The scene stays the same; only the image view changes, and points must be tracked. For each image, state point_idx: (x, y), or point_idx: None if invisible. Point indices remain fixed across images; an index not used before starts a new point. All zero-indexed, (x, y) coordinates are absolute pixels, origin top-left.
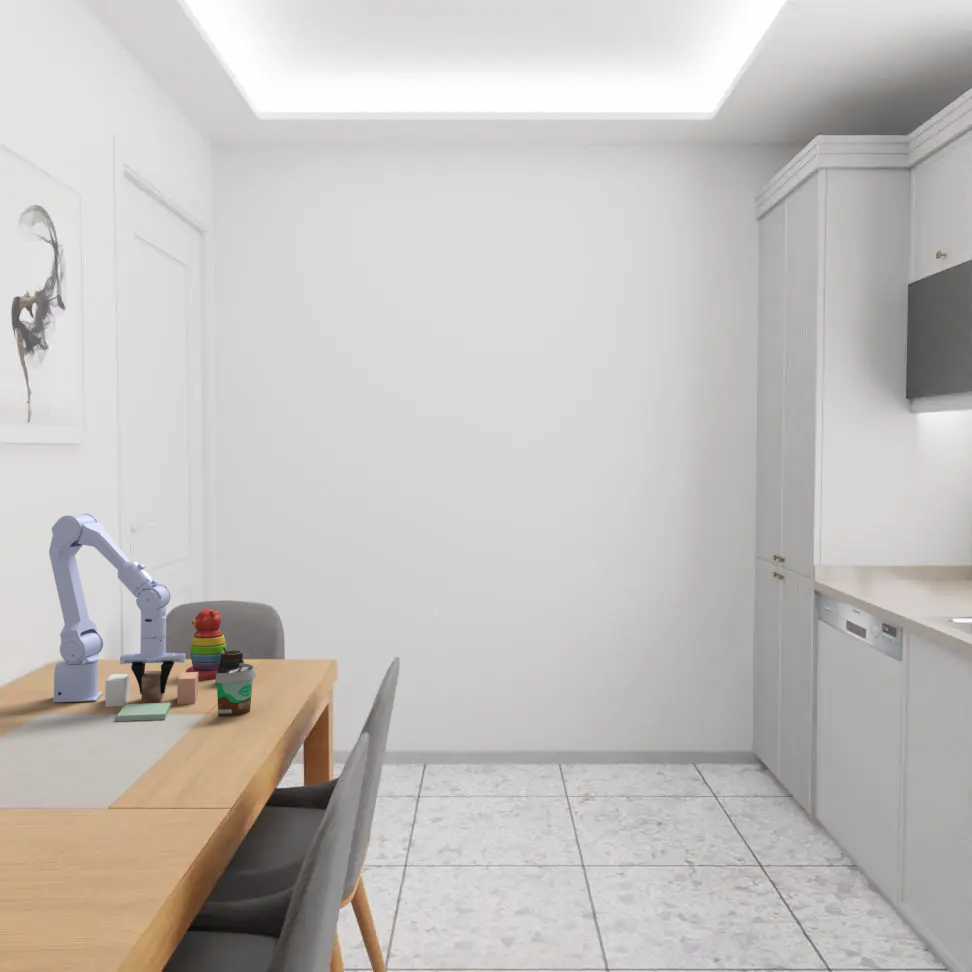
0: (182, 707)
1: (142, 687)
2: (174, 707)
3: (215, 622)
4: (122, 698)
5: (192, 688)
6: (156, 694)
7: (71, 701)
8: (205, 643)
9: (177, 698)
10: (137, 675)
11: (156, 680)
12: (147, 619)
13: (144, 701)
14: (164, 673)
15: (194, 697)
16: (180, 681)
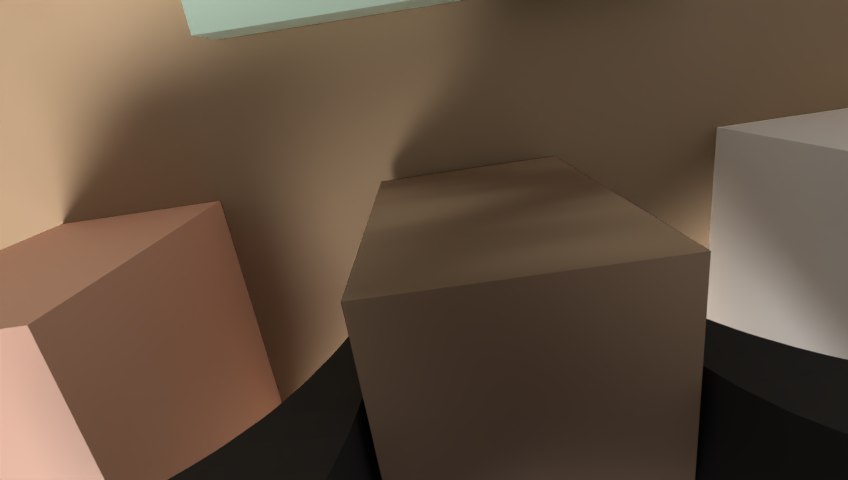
0: (105, 62)
1: (607, 197)
2: (188, 62)
3: None
4: (782, 136)
5: None
6: (408, 199)
7: None
8: None
9: (193, 214)
10: (819, 368)
11: (405, 265)
12: None
13: (528, 164)
14: (280, 450)
15: (20, 242)
16: (16, 309)
